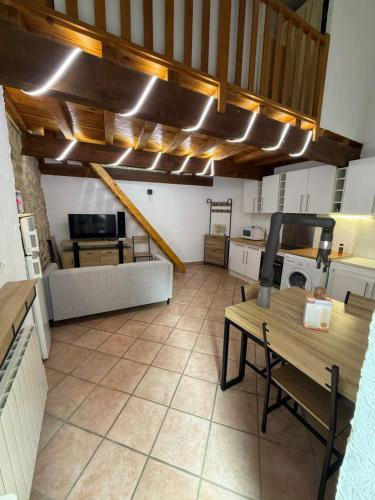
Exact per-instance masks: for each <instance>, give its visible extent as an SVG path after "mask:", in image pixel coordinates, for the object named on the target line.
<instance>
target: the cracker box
mask: <svg viewBox="0 0 375 500" xmlns="http://www.w3.org/2000/svg"><path fill="white" fill-rule="evenodd" d="M304 302H305V303H304V307H303V308H304V310H303V316H302V326H303V328H305V329H308V330H313V331H314V330H315V331H320V332H325V333H329V330H330V329H329V327H330V322H331V316H332V311H333V310H332V308H333V305H334V304H333V303H334V302H333V301H332V299H331V298H327V297H326V300H317V299H316V298H315V297H313V296H312V295H306V296H305V301H304Z"/></svg>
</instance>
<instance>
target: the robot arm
mask: <svg viewBox="0 0 375 500" xmlns="http://www.w3.org/2000/svg"><path fill="white" fill-rule="evenodd" d="M269 221H270V222H269V231H268V234H267V239H266V241H265V247H264V255H263V262H262V265H261V268H260V271H259V272H260V273H259V274H260V279H259V286H258V292H257V301H256V305H257V306H258V307H260V308H261V309H262V308H263V309H268V308H270V306H271V298H272V297H271V296H272V290H273V289H272V288H273V282H274V277H275V276H274V275H275V269H274V268H273V267H274V263H275V260H276V258H277V254H278V251H279V248H280V239H281V238H280V235H281V228H282V225H285V224H287V225H289V224H291V225H299V226H302V227H312V228H313V227H314V228H315V227H316V228H321V233H320V238H319V242H318V248H317V254H316V258H315V263H316V269H317V270H321V266H322V265H323V267H322V273H325V274H326V273H328V268H330V267H331V263H332V262H331V261H332V258H331V257H329V256H331V255H332V249H333V240H334V230H335V226H336V224H337V222H336V220H335V218H333V217H323V216H322V217H320V216H314V215H313V216H312V215H297V214H296V215H295V214H294V215H293V214H288V213H284V212H281V211H275V212H274V213H272V214H271V216H270V220H269Z"/></svg>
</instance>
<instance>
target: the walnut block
mask: <svg viewBox="0 0 375 500" xmlns="http://www.w3.org/2000/svg"><path fill="white" fill-rule="evenodd" d="M327 293H328V289H327V288H325V287H324V286H314V290H313V297H315V298H316V299H317V300H326V298H327Z"/></svg>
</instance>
